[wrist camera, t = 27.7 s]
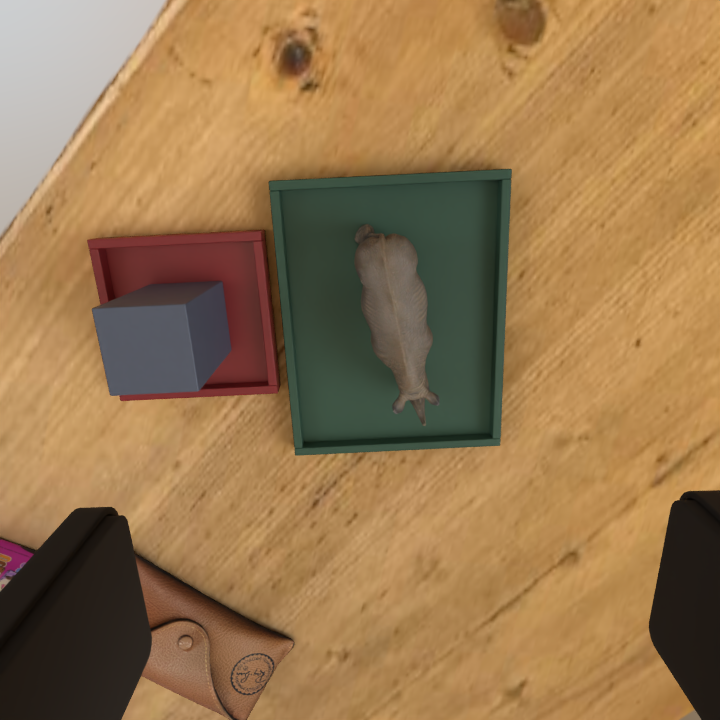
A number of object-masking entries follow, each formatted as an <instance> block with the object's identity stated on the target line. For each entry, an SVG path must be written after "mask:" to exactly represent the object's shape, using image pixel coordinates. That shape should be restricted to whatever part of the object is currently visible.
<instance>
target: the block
mask: <svg viewBox="0 0 720 720" xmlns="http://www.w3.org/2000/svg"><path fill="white" fill-rule="evenodd" d="M92 313H93V317H94V322H95V327H96V331H97V336H98V341H99V345H100V350H101V355H102V359H103V364H104V369H105V373H106V378H107V383H108V387H109V392H110V395H111V396H117V395H137V394H158V393H178V392H198V391H199V390H200V389H201V388H202V387H203V385H204V384H205V383H206V382H207V380H208V379H209V378H210V377H211V375H212V374H213V373H214V372H215V370H216V369H217V368H218V367H219V366H220V364H221V363H222V362H223V361H224V359H225V358H226V357H227V356H228V354H229V353H230V352H231V343H230V335H229V327H228V320H227V312H226V304H225V297H224V289H223V282H222V281H207V282H187V283H167V284H150V285H147V286H145V287H142V288H140V289H138V290H135V291H133V292H131V293H128V294H126V295H123V296H121V297H119V298H116V299H114V300H111V301H109V302H107V303H104V304H102V305H100V306H97V307H95V308H93V309H92Z"/></svg>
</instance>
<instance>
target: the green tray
mask: <svg viewBox="0 0 720 720" xmlns="http://www.w3.org/2000/svg"><path fill="white" fill-rule="evenodd" d="M511 173H512V170H511V169H498V170H478V171H458V172H438V173H418V174H398V175H378V176H358V177H338V178H318V179H298V180H278V181H269V190H270V200H271V211H272V221H273V231H274V242H275V252H276V262H277V272H278V283H279V293H280V303H281V314H282V324H283V334H284V345H285V355H286V365H287V375H288V386H289V396H290V406H291V417H292V427H293V437H294V447H295V455H316V454H336V453H357V452H378V451H398V450H419V449H439V448H460V447H480V446H500V437H501V414H502V390H503V366H504V342H505V318H506V294H507V270H508V245H509V221H510V197H511ZM365 224H369V225H371V226H372V227H373V229H374V233H375V234H380V233H382V234H384V236H385V237H386V236H388V235H389V234H393V233H394V234H398V235H401V236H404V237H406V238H407V239H408V240H409V241H410V242H411V243H412V244H413V246H414V248H415V250H416V253H417V258H418V264H417V267H416V271H417V273H418V275H419V277H420V278H421V280H422V282H423V284H424V286H425V289H426V293H427V301H428V306H427V325H428V326H429V328H430V329H431V332H432V335H433V343H432V346H431V348H430V350H429V353H428V354H427V357H426V364H425V372H426V375H427V380H428V385H429V390H430V391H431V392H434V393H435V394H437V395H438V396H439V399H440V400H439V403H440V404H439V405H438V406H437V405H432V404H430V402H429V401H428V400H427V399H426V398H425V419H426V425H425V426H423V425H422V423H421V421H420V419H419V417H418V415H417V413H416V411H415V409H414V407H413V405H412V404H411V402H410V401H409V400H408V401H406V402H405V406H404V409H403V411H402V412H401V413H398V414H395V413H394V412H393V408H392V405H393V403H394V402H395V400H396V399H397V398H398V396H399V393H400V390H399V388H398V385H397V382H396V379H395V377H394V374H393V372H392V370H391V369H390V368H389V367H388V366H386V365H385V364H384V363H383V362H382V361H381V360H380V359H379V358H378V357H377V355H376V354H375V352H374V350H373V347H372V344H371V330H370V328H369V325H368V323H367V321H366V319H365V317H364V314H363V312H362V308H361V294H362V288H363V284H362V283H361V281H360V278H359V276H358V274H357V272H356V269H355V265H354V260H355V252H356V249H357V248H358V246H359V244H358V243H357V242H356V241H355V235H356V232H357V231H358V229H359V228H360V227H361V226H362V225H365Z"/></svg>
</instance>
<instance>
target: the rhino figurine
mask: <svg viewBox="0 0 720 720" xmlns="http://www.w3.org/2000/svg"><path fill="white" fill-rule="evenodd" d="M355 241H356V242H357V243H358V244H359V246H358V248H357V249H356V252H355V260H354V265H355V269H356V272H357V274H358V276H359V278H360V281H361V283H362V284H363V288H362V294H361V308H362V312H363V314H364V317H365V319H366V321H367V323H368V325H369V328H370V330H371V344H372V347H373V350H374V352H375V354H376V355H377V357H378V358H379V359H380V360H381V361H382V362H383V363H384V364H385V365H386V366H388V367H389V368H390V369H391V370H392V372H393V374H394V377H395V379H396V382H397V385H398V388H399V390H400V393H399V396H398V398H397V399H396V400H395V402H394V403H393V405H392V408H393V412H394V413H395V414H398V413H401V412H402V411H403V409H404V406H405V402H406V401H408V400H409V401H410V402H411V404H412V405H413V407H414V409H415V411H416V413H417V415H418V417H419V419H420V421H421V423H422V425H423V426H425V425H426V419H425V398H426V399H427V400H428V401H429V402H430V404H432V405H437V406H438V405H439V404H440V403H439V400H440V399H439V396H438V395H437V394H435V393H434V392H431V391H430V390H429V385H428V380H427V375H426V372H425V364H426V357H427V354H428V353H429V350H430V348H431V346H432V343H433V335H432V332H431V329H430V328H429V326H428V325H427V306H428V301H427V293H426V289H425V286H424V284H423V282H422V280H421V278H420V277H419V275H418V273H417V271H416V267H417V264H418V258H417V253H416V250H415V248H414V246H413V244H412V243H411V242H410V241H409V240H408V239H407V238H406V237H404V236H401V235H398V234H394V233H393V234H389V235H388V236H386V237H385V236H384V234H382V233H380V234H375V233H374V229H373V227H372V226H371V225H369V224H365V225H362V226H361V227H360V228H359V229H358V231H357V232H356V235H355Z"/></svg>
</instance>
